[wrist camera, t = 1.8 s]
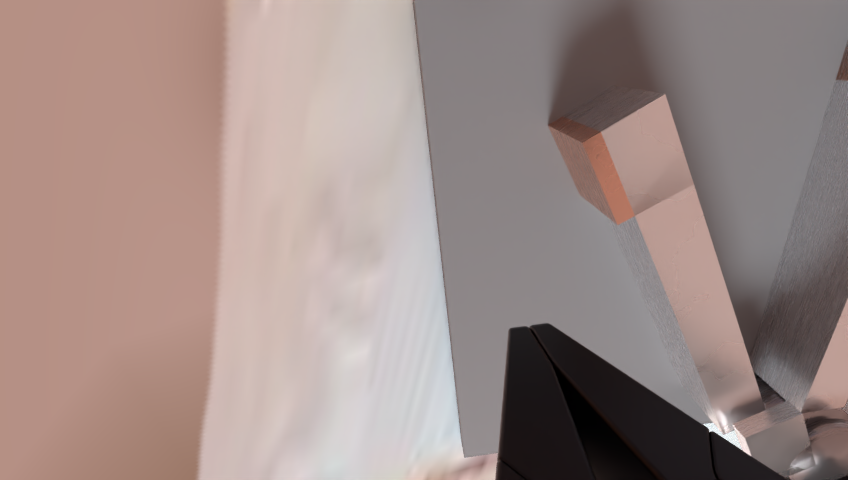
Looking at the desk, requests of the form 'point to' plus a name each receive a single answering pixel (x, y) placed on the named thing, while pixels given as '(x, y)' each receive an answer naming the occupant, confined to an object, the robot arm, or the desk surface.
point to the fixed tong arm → (812, 284)
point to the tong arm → (685, 275)
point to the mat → (555, 189)
